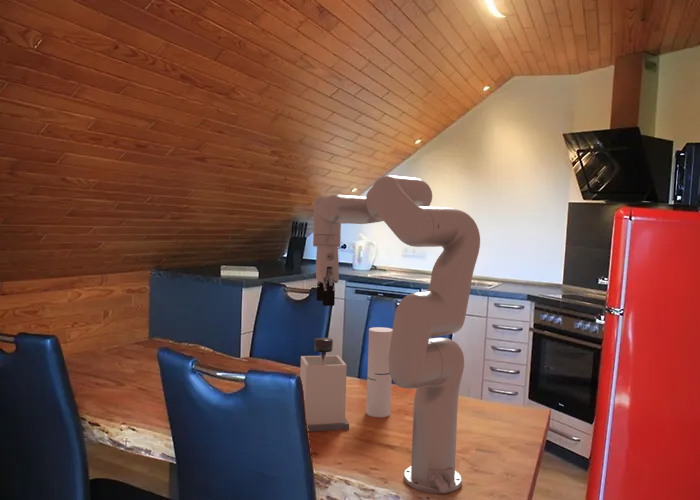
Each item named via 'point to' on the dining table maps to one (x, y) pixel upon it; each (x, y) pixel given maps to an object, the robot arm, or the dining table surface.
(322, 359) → the plunger
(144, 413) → the dining table surface
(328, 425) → the press carafe
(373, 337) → the cylindrical container
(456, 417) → the robot arm
